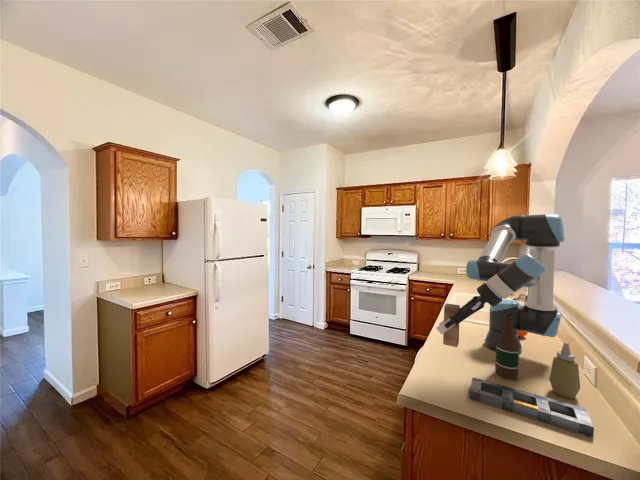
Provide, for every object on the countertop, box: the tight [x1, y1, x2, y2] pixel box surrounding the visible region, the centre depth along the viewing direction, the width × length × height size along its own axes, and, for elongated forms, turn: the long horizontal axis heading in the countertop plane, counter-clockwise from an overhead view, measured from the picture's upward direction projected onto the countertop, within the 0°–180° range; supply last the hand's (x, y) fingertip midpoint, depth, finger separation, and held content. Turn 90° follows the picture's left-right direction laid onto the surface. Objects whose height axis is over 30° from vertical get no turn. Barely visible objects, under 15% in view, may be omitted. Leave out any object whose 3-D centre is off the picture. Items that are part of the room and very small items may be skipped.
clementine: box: [518, 330, 529, 338], centre depth 148 cm, size 8×7×7 cm
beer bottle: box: [494, 314, 520, 381], centre depth 107 cm, size 8×8×24 cm
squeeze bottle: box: [548, 342, 581, 400], centre depth 95 cm, size 8×8×18 cm
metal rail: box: [469, 377, 595, 438], centre depth 87 cm, size 30×10×3 cm, turn 56°
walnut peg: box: [442, 303, 461, 348], centre depth 99 cm, size 4×4×14 cm
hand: (440, 328), depth 101 cm, fingers closed on walnut peg, 4 cm apart
